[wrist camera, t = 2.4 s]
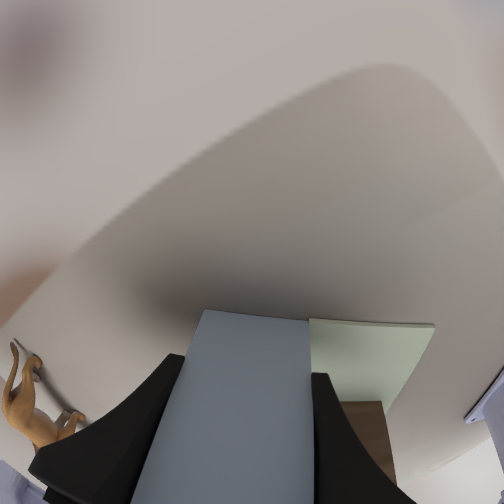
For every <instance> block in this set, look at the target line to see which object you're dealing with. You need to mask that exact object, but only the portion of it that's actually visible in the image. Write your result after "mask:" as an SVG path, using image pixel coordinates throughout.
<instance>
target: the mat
mask: <svg viewBox="0 0 504 504" xmlns="http://www.w3.org/2000/svg"><path fill="white" fill-rule="evenodd" d="M435 329H436V327H435V325H426V324H394V323H372V322H355V321H340V320H327V319H315V318H309V336H310V352H311V370H312V372H319V373H328V375H329V377H330V380H331V382H332V385H333V387H334V390H335V392H336V395H337V397H338V399H339V401H382V405H383V410H384V415H385V414H386V412H387V411H388V409H389V408H390V407H391V405H392V404H393V402H394V401H395V399H396V398H397V396H398V395H399V393H400V391H401V390H402V388H403V387H404V385H405V383H406V382H407V380H408V379H409V377H410V375H411V374H412V372H413V370H414V368H415V367H416V365H417V363H418V361H419V360H420V358H421V356H422V354H423V352H424V351H425V349H426V347H427V345H428V343H429V341H430V339H431V337H432V335H433V333H434V331H435Z"/></svg>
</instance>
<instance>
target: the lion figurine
mask: <svg viewBox="0 0 504 504" xmlns="http://www.w3.org/2000/svg"><path fill="white" fill-rule="evenodd" d="M10 347H11V350H12V353H13V356H14V364H13V367H12V370H11V373H10V376H9V378H8V381H7V383H6V386H5V389H4V393H3V398H2V411H3V414H4V416H5V418H6V419H7V421H8V423H10V425H11V426H12V427H14V428H16V429H18V430H19V431H21V432H22V433H23V434H24V435H26V436H27V437H28V438H29V439H30V440H31V441H32V443H33V446H34V448H35V454H36V453H37V452H38V450H39V449H40V447H43V446H46V445H49V444H51V443H54V442H57V441H59V440H62V439H64V438H66V437H68V436H70V435H72V434H74V433H75V429H76V423H77V421H78V420H80V421H85V416H84V415H83V414H81V413H79V412H76V411H75V412H73V413H72V414H70V413H69V412H67V411H63V412H62V413H61V415H60V416H59V418H58V419H57V420H56V421H55V423H54V422H53V421H52V420H51V419H50V417H49V416H48V415H47V414H46V413H44V412H43V411H41V410H39V409H37V408H34V407H35V388H34V382H40V378H39V377H38V375H37V374H36V373H34V372H32V370H33V367H34V366H35V367H36V368H38V369H39V368H40V367H41V366H42V362H41V360H40V359H39V358H38V357H36V356H31V357H30V358H28V360H27V362H26V364H25V366H24V368H23V370H22V382H21V383H20V384H19V385H18V386H17V387H16V388H15V389H13V390H12V391H11V389H12V386H13V382H14V378H15V376H16V372H17V368H18V361H19V352H18V349H17V347H16V346H15V344H14V343H13V342H10ZM67 420H69V421H68V423H67V425H66V426H65V427H64V425H65V423H66V421H67Z"/></svg>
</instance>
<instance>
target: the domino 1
mask: <svg viewBox="0 0 504 504" xmlns="http://www.w3.org/2000/svg"><path fill="white" fill-rule="evenodd" d="M311 374H312V370H311V352H310V336H309V321H303V320H292V319H282V318H273V317H263V316H255V315H246V314H238V313H230V312H223V311H215V310H208V309H204V312H203V314H202V316H201V319H200V321H199V324H198V326H197V329H196V331H195V334H194V336H193V339H192V341H191V344H190V346H189V349H188V351H187V354H186V356H185V361H184V363H183V366H182V369H181V371H180V374H179V376H178V379H177V381H176V383H175V385H174V387H173V390H172V392H171V395H170V397H169V400H168V403H167V405H166V408H165V411H164V413H163V416H162V418H161V421H160V424H159V426H158V429H157V432H156V434H155V437H154V440H153V443H152V445H151V448H150V451H149V453H148V456H147V459H146V462H145V464H144V467H143V470H142V473H141V475H140V478H139V481H138V484H137V487H136V489H135V492H134V495H133V498H132V501H131V504H313V503H314V423H313V401H312V389H311Z"/></svg>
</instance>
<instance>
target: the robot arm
mask: <svg viewBox="0 0 504 504" xmlns="http://www.w3.org/2000/svg"><path fill="white" fill-rule="evenodd" d="M184 361H185V356H181V355H176V354H171V353H170V354H169V355H168V356H167V357H166V358H165V359H164V360H163V361H162V363H161V364H160V365H159V366H158V367H157V368H156V369H155V370H154V371H153V373H152V374H151V375H150V376H149V377H148V378H147V379H146V380H145V381H144V382H143V383H142V384H141V385H140V386H139V387H138V388H137V389H136V390H135V391H134V392H133V393H132V394H130V395H129V396H128V397H127V398H126V399H125V400H124V401H123V402H121V403H120V404H119V405H118V406H116V407H115V408H114V409H113V410H111V411H110V412H109V413H107V414H106V415H105V416H103V417H102V418H100V419H99V420H97V421H95V422H94V423H92V424H91V425H89V426H87V427H86V428H84V429H82V430H80V431H78V432H76V433H74V434H72V435H70V436H68V437H66V438H64V439H62V440H59V441H57V442H54V443H51V444H49V445H46V446H43V447H40V449H39V450H38V452H37V453H36V455H35V457H34V459H33V461H32V463H31V465H30V467H29V469H28V471H29V472H30V473H31V474H32V475H33V476H34V477H36V478H37V479H38V480H40V481H41V482H42V483H44V484H45V485H47V486H48V488H47V490H46V491H44V490H42V489H41V488H39V487H38V486H36V485H35V484H33V483H32V482H30V481H29V480H28V479H27V478H25V477H24V476H23V475H21V474H20V473H19V472H18V471H16V470H15V469H14V468H12V467H11V466H10V465H8V464H7V463H6V462H5V461H3V460H0V504H131V501H132V498H133V495H134V492H135V489H136V487H137V484H138V481H139V478H140V475H141V473H142V470H143V467H144V464H145V462H146V459H147V456H148V453H149V451H150V448H151V445H152V443H153V440H154V437H155V434H156V432H157V429H158V426H159V424H160V421H161V418H162V416H163V413H164V411H165V408H166V405H167V403H168V400H169V397H170V395H171V392H172V390H173V387H174V385H175V383H176V381H177V379H178V376H179V374H180V371H181V369H182V366H183V363H184ZM311 389H312V401H313V423H314V503H313V504H417V503H416V502H414V501H413V500H412V499H411V498H409V497H408V496H407V495H406V494H405V493H404V492H403V491H402V490H401V489H400V488H398V487H397V486H396V485H395V484H394V483H393V482H392V481H391V479H390V478H389V477H388V476H387V475H386V474H385V473H384V472H383V470H382V469H381V468H380V467H379V466H378V465H377V463H376V462H375V461H374V459H373V458H372V457H371V455H370V454H369V453H368V451H367V450H366V448H365V447H364V445H363V444H362V442H361V441H360V439H359V437H358V436H357V434H356V432H355V431H354V429H353V427H352V425H351V424H350V422H349V420H348V418H347V416H346V414H345V412H344V410H343V408H342V406H341V404H340V401H339V399H338V397H337V395H336V392H335V390H334V387H333V385H332V382H331V380H330V377H329V375H328V373H319V372H312V374H311ZM483 419H485V420H486V423H487V425H488V428H489V431H490V433H491V436H492V439H493V441H494V444H495V447H496V450H497V453H498V456H499V459H500V463H501V465H502V469H503V473H504V370H503V371H502V372H501V374H500V375H499V377H498V378H497V379H496V381H495V382H494V384H493V385H492V386H491V387H490V389H489V390H488V391H487V393H486V394H485V395H484V396H483V398H482V399H481V400H480V401H479V403H478V404H477V405H476V406H475V407H474V409H473V410H472V411H471V412H470V413H469V414H468V415H467V417H466V418H465V419H464V422H465V424H468V423H472V422H476V421H480V420H483ZM501 496H502V498H501V499H500V501H499V503H498V504H504V490H503V491H501Z"/></svg>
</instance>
